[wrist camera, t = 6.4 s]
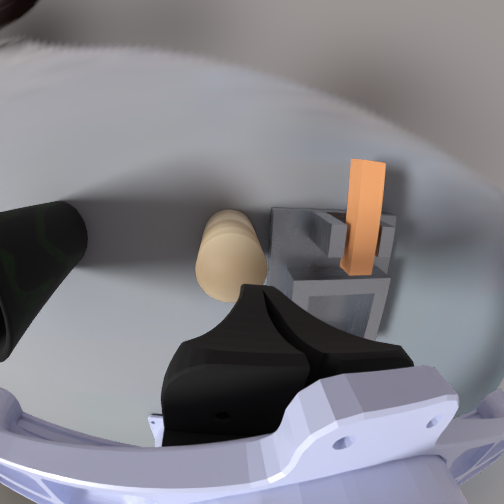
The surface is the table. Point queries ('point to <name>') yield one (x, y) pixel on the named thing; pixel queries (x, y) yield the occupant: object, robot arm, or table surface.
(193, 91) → the table surface
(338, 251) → the dock
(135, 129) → the table surface
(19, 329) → the cup
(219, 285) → the peg
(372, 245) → the pin
